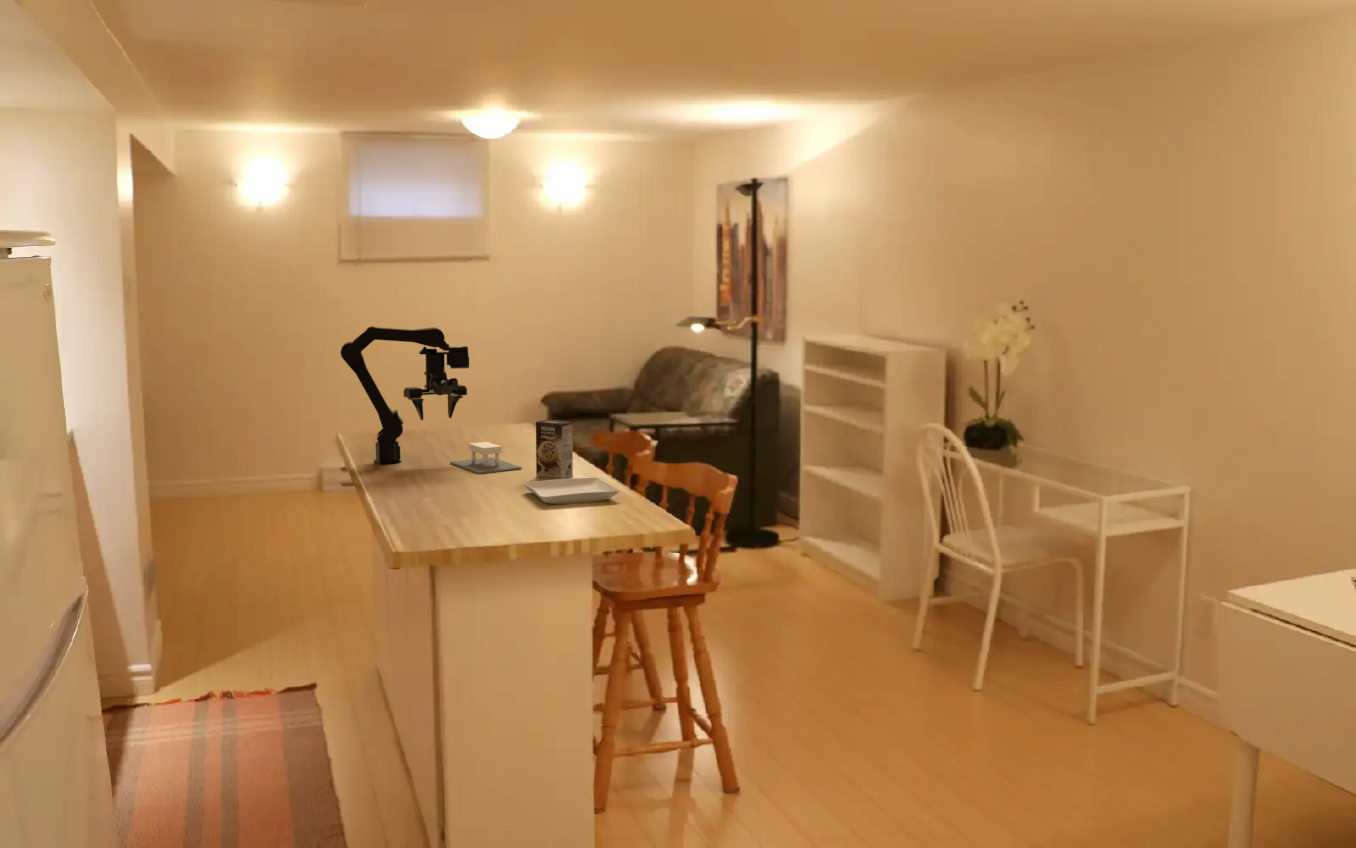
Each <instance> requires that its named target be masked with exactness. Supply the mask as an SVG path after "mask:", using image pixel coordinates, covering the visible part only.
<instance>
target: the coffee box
mask: <svg viewBox="0 0 1356 848" xmlns="http://www.w3.org/2000/svg"><path fill="white" fill-rule="evenodd" d="M573 430H574V423H573V421H567V420H566V421H565V420H556V419H544V420H539V421H537V420H536V422H535V467H536V468H535V472H536V473H535V476H536V477H538V478H539V477H541V478H547V479H553V480H555V479H569V478H572V477H573V471H574V469H573V468H574V463H573V461H574V460H573V458H574V457H573V455H574V454H573V452H574V450H573V449H574V447H573V446H574V444H573V441H574V439H573V434H574V432H573Z"/></svg>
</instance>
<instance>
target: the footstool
mask: <svg viewBox="0 0 1356 848" xmlns="http://www.w3.org/2000/svg"><path fill="white" fill-rule="evenodd" d="M502 449H503V448H502V445H498V444H495V443H492V442H488V441H481V442H480V441H479V442H471V443H468V451H470V452H471V460H472V463H473V464H474V463H476V459H477V458H476V457H477V456H476V454H480V455H482V458H483V467H484V468H487V462H488V458H489V456H488V455H494V456H495V457H494V458H495V466H499V460H500V454H502Z"/></svg>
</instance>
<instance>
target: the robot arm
mask: <svg viewBox="0 0 1356 848" xmlns="http://www.w3.org/2000/svg"><path fill="white" fill-rule="evenodd" d="M374 341H388V342H389V341H390V342H391V341H392V342H404V343H405V342H407V343H415V344H419V345H423V347H422V349H421V350H419V351H418V353H419V355H425V371H423V373H424V375H425V384H424V388H423V389H422V388H421V387H418V386H411V387H410V386H408V387H405V388H404V389H403V397H405V398H407V400H409V401H411V402H412V404H413V406H414V407H415V410H416V412H417V415H418V417H419V419H420V421H423V420H424V408H423V403H424V398H422V397H423V396H432V395H437V396H443V395H447V415H448V418H449V419H452V418H453V414H454V411H455V408H456V405H457V403H458V402H459V401H460V399H463V398H464V396H468V389H467V387H466V385H463V384H459V380H458V378H456V377H454V378H453V377H451V378H450V379H449V378H448V375H447V372H446V371H445V369H446V368H445V363H446V366H449V368H450V369H469V368H470V357H469V347H468V346H466V345H465V346H464V345H463V346H450V344H449V343H447V342H446V340H445V334H444V332H443V331H442V330H441V329H440V328H437V327H433V326H432V327H425V328H418V329H417V328H415V329H407V328H406V329H405V328H392V327H377V326H373V325H372V326H371V325H370V326H369V327H367V328H366V330H364V332H362V333H361V334H359V336H357V337H356V338H354V339H353V341H347V342H345V343H344V344H343V345H342V347H341V349H340V356H341V358H342V359H343V361H344V362H345V364H346V365H347V366H348V367H349V368H350V369H351V370H352V372H354V374H355V375H356V376H357V378H358V381H359V382H360V384H361V386H362V388H363V389H364V392H365V393H366V395H367V396H368V398H369V400H370V402H371V404H372V406H373V407H374V409H375V410H376V412H377V415H378V418H379V422H380V424H381V427H382V429H380V430H379V431H378V432H377V434H376V440H377V441H375V442H374V443H375V459H374V460H373V462H375V463H378V464H379V465H386V464H387V465H388V464H394V463H395V464H397V463H402V460H401V446H400V445H399V444H400V443H399V441H397V438H400V437H401V435H403V431H404V426H403V424H404V420H403V418H401V417H400V415H399V412H398V409H395V410H394V411H393V410H392V408H391V407H390V406H389V405H388V403H387V401H386V399H385V398H384V396H383V394H382V393H381V392H382V391H380V389H379V387H378V385H377V383H376V381H375V379H374V378H373V376H372V374H371V373H370V371H369V369H368V368H367V367H368V366H367V364H366V361H365V357H364V355H363V351H364V350H365V349H366V348H367V347H369V345H370V344H372V343H373V342H374ZM428 347H430V348H428ZM437 348H439V349H440V350H442V351H438V349H437ZM445 355H446V356H445ZM445 358H446V359H445ZM445 360H446V361H445Z"/></svg>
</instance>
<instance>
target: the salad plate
mask: <svg viewBox="0 0 1356 848" xmlns="http://www.w3.org/2000/svg"><path fill="white" fill-rule="evenodd" d="M523 485H524V487H525V488H526V489H527V490H528V491H530V492H531V493H532V494H534V495H535V496H536V497H538V498H540V500H541V501H543V502H544V503H545V504H546V503H547V504H549V505H563V504H565V505H566V504H567V505H568V504H580V503H592V502H594V503H595V502H601V501H605V500H608V499H611V498H613V497H615V496H616V495H618V493H619V492H620V490H619V489H617V488H616V487H615V486H613V485H611V484H609V483H608V482H606V481H604V480H602V479H601V478H599V477H594V476H593V477H577V478H576V477H573V478H572V477H570V478H565V479H544V480H536V481H535V480H534V481H533V480H532V481H524V482H523Z"/></svg>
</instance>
